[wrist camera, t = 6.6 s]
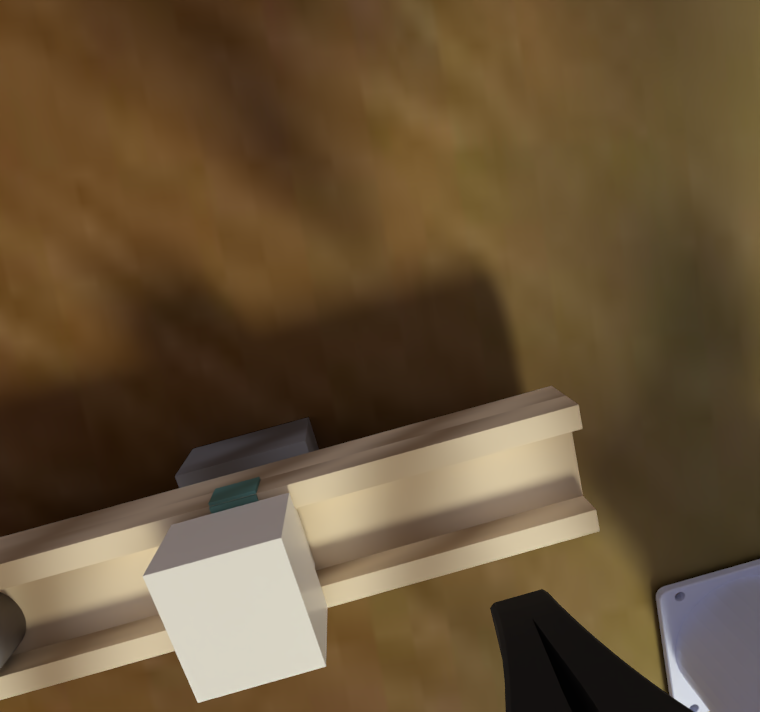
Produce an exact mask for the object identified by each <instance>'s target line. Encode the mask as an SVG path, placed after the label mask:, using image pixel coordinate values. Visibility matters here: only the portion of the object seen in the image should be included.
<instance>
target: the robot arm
mask: <svg viewBox="0 0 760 712" xmlns="http://www.w3.org/2000/svg"><path fill="white" fill-rule="evenodd" d="M677 593H678V594H677ZM676 594H677V595H676ZM675 595H676V596H675ZM656 603H657V610H658V617H659V624H660V632H661V639H662V646H663V653H664V660H665V667H666V674H667V681H668V688H669V695H668V694H667V693H666V692H664V691H663V690H661V689H660V688H658V687H657V686H656V685H654V684H653V683H652V682H650V681H649V680H648V679H646V678H645V677H644V676H642V675H641V674H640V673H638V672H637V671H636V670H634V669H633V668H632V667H630V666H629V665H628V664H627V663H625V662H624V661H623V660H622V659H620V658H619V657H618V656H617V655H615V654H614V653H613V652H612V651H611V650H609V649H608V648H607V647H606V646H605V645H603V644H602V643H601V642H600V641H599V640H598V639H596V638H595V637H594V636H593V635H592V634H591V633H589V632H588V631H587V630H586V629H585V628H584V627H583V626H582V625H581V624H579V623H578V622H577V621H576V620H575V619H574V618H573V617H572V616H571V615H570V614H569V613H568V612H567V611H566V610H565V609H564V608H562V607H561V606H560V605H559V604H558V603H557V602H556V601H555V599H554V598H553V597H552V596H551V595H550V594H549V593H548V592H546V591H545V590H543V589H542V590H538V591H535V592H531V593H527V594H524V595H520V596H517V597H513V598H510V599H506V600H503V601H499V602H496V603H494V604H493V605H492V606H491V608H490V609H491V613H492V617H493V622H494V626H495V630H496V634H497V638H498V642H499V647H500V651H501V655H502V659H503V668H504V678H505V700H506V712H708V711H710V712H760V559H758V560H754V561H751V562H747V563H744V564H740V565H737V566H733V567H730V568H726V569H723V570H719V571H716V572H712V573H709V574H705V575H702V576H698V577H695V578H691V579H688V580H684V581H681V582H677V583H674V584H670V585H667V586H663V587H661V588H660V589H659V590H658V591H657V593H656Z"/></svg>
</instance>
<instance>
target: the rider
mask: <svg viewBox="0 0 760 712" xmlns="http://www.w3.org/2000/svg"><path fill="white" fill-rule="evenodd" d="M143 579H144V581H145V583H146V585H147V588H148V590H149V592H150V595H151V597H152V599H153V601H154V604H155V606H156V608H157V611H158V613H159V615H160V617H161V620H162V622H163V624H164V627H165V629H166V631H167V633H168V636H169V638H170V640H171V643H172V645H173V647H174V649H175V652H176V654H177V656H178V659H179V661H180V663H181V665H182V668H183V670H184V672H185V675H186V677H187V679H188V681H189V684H190V686H191V688H192V691H193V693H194V695H195V697H196V700H197V702H198V703H199V702H203V701H206V700H210V699H213V698H217V697H220V696H224V695H227V694H231V693H234V692H238V691H241V690H245V689H248V688H252V687H255V686H259V685H262V684H266V683H269V682H273V681H277V680H280V679H284V678H287V677H291V676H294V675H298V674H301V673H305V672H308V671H312V670H315V669H319V668H322V667H326V647H327V603H326V600H325V597H324V594H323V591H322V588H321V585H320V582H319V579H318V576H317V573H316V570H315V562H314V559H313V556H312V553H311V550H310V547H309V544H308V541H307V538H306V535H305V533H304V530H303V527H302V524H301V521H300V518H299V515H298V512H297V509H296V508H294V505H293V502H292V499H291V496H290V493H285V494H281V495H278V496H274V497H271V498H267V499H263V500H260V501H256V502H252V503H249V504H245V505H242V506H238V507H234V508H231V509H227V510H224V511H220V512H216V513H213V514H209V515H205V516H202V517H198V518H195V519H191V520H187V521H184V522H180V523H176V524H173V525H171V527H170V529H169V530H168V532H167V534H166V536H165V537H164V539H163V541H162V543H161V544H160V546H159V548H158V550H157V552H156V553H155V555H154V557H153V559H152V560H151V562H150V564H149V566H148V567H147V569H146V571H145V573H144V575H143Z"/></svg>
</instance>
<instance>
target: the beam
mask: <svg viewBox="0 0 760 712" xmlns="http://www.w3.org/2000/svg"><path fill="white" fill-rule="evenodd" d="M580 429H583V428H582V422H581V416H580V410H579V405H578V404H577V403H575V402H574V401H573V400H571V399H570V398H568V397H567V396H565V395H564V394H563V393H561V392H560V391H558V390H557V389H556V388H554V387H553V386H549V387H546V388H542V389H538V390H535V391H531V392H528V393H524V394H520V395H517V396H513V397H509V398H506V399H502V400H498V401H495V402H491V403H487V404H484V405H480V406H477V407H473V408H469V409H466V410H462V411H458V412H455V413H451V414H447V415H444V416H440V417H437V418H433V419H429V420H426V421H422V422H418V423H415V424H411V425H407V426H404V427H400V428H396V429H393V430H389V431H386V432H382V433H378V434H375V435H371V436H367V437H364V438H360V439H356V440H353V441H349V442H346V443H342V444H338V445H335V446H331V447H327V448H324V449H320V450H319V448H318V445H317V442H316V439H315V436H314V432H313V429H312V426H311V423H310V420H309V417H308V418H304V419H300V420H297V421H293V422H289V423H286V424H282V425H278V426H275V427H271V428H267V429H264V430H260V431H256V432H253V433H249V434H245V435H242V436H238V437H234V438H231V439H227V440H223V441H220V442H216V443H212V444H209V445H205V446H201V447H198V448H194V449H193V450H192V451H191V453H190V454H189V456H188V457H187V459H186V460H185V462H184V463H183V465H182V466H181V468H180V469H179V471H178V472H177V474H176V475H175V479H176V481H177V484H178V486H179V488H178V489H174V490H171V491H167V492H163V493H160V494H156V495H153V496H149V497H145V498H142V499H138V500H134V501H131V502H127V503H123V504H120V505H116V506H113V507H109V508H105V509H102V510H98V511H94V512H91V513H87V514H83V515H80V516H76V517H72V518H69V519H65V520H62V521H58V522H54V523H51V524H47V525H43V526H40V527H36V528H32V529H29V530H25V531H22V532H18V533H14V534H11V535H7V536H3V537H0V700H2V699H6V698H9V697H13V696H16V695H20V694H23V693H27V692H31V691H34V690H38V689H41V688H45V687H48V686H52V685H55V684H59V683H62V682H66V681H70V680H73V679H77V678H80V677H84V676H87V675H91V674H94V673H98V672H101V671H105V670H109V669H112V668H116V667H119V666H123V665H126V664H130V663H133V662H137V661H141V660H144V659H148V658H151V657H155V656H158V655H162V654H165V653H169V652H172V651H175V649H174V647H173V645H172V643H171V640H170V638H169V636H168V633H167V631H166V629H165V627H164V624H163V622H162V620H161V617H160V615H159V613H158V611H157V608H156V606H155V604H154V601H153V599H152V597H151V595H150V592H149V590H148V588H147V585H146V583H145V581H144V579H143V575H144V573H145V571H146V569H147V567H148V566H149V564H150V562H151V560H152V559H153V557H154V555H155V553H156V552H157V550H158V548H159V546H160V544H161V543H162V541H163V539H164V537H165V536H166V534H167V532H168V530H169V529H170V527H171V525H173V524H176V523H180V522H184V521H187V520H191V519H195V518H198V517H202V516H205V515H209V514H213V513H216V512H220V511H224V510H227V509H231V508H234V507H238V506H242V505H245V504H249V503H252V502H256V501H260V500H263V499H267V498H271V497H274V496H278V495H281V494H285V493H290V496H291V499H292V502H293V505H294V508H296V509H297V512H298V515H299V518H300V521H301V524H302V527H303V530H304V533H305V535H306V538H307V541H308V544H309V547H310V550H311V553H312V556H313V559H314V562H315V570H316V573H317V576H318V579H319V582H320V585H321V588H322V591H323V594H324V597H325V600H326V603H327V608H329V607H332V606H336V605H339V604H343V603H346V602H350V601H353V600H357V599H361V598H364V597H368V596H371V595H375V594H378V593H382V592H385V591H389V590H393V589H396V588H400V587H403V586H407V585H410V584H414V583H417V582H421V581H424V580H428V579H432V578H435V577H439V576H442V575H446V574H449V573H453V572H456V571H460V570H463V569H467V568H471V567H474V566H478V565H481V564H485V563H488V562H492V561H495V560H499V559H503V558H506V557H510V556H513V555H517V554H520V553H524V552H527V551H531V550H534V549H538V548H542V547H545V546H549V545H552V544H556V543H559V542H563V541H566V540H570V539H574V538H577V537H581V536H584V535H588V534H591V533H595V532H598V531H600V530H599V524H598V518H597V512H596V509H595V508H594V507H593V506H592V505H591V504H590V503H589V502H588V500H587V499H586V498H585V497H584V496H583V493H582V487H581V482H580V476H579V470H578V464H577V459H576V453H575V447H574V441H573V435H572V432H573V431H576V430H580Z"/></svg>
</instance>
